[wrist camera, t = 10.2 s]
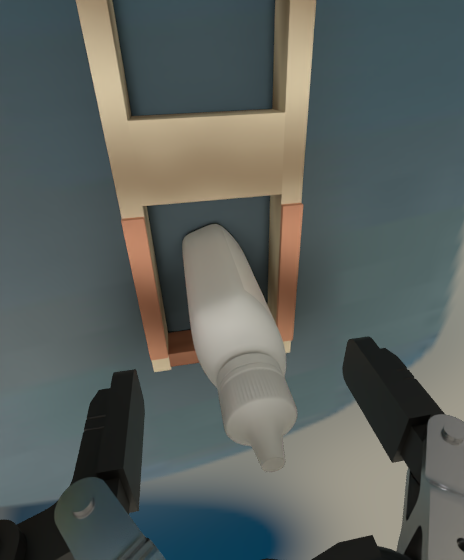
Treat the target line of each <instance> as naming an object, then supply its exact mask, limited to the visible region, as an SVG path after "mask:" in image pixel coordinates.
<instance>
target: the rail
mask: <svg viewBox="0 0 464 560" xmlns="http://www.w3.org/2000/svg"><path fill="white" fill-rule="evenodd" d="M76 4H77V8H78V13H79V18H80V22H81V27H82V32H83V37H84V41H85V46H86V51H87V56H88V60H89V65H90V70H91V75H92V79H93V84H94V89H95V94H96V98H97V103H98V108H99V113H100V117H101V122H102V127H103V132H104V136H105V141H106V146H107V151H108V155H109V160H110V165H111V169H112V174H113V179H114V184H115V188H116V193H117V198H118V203H119V207H120V212H121V217H122V220H121V223H122V227H123V232H124V237H125V241H126V246H127V251H128V256H129V260H130V265H131V270H132V274H133V279H134V284H135V288H136V293H137V298H138V303H139V307H140V312H141V317H142V321H143V326H144V331H145V335H146V340H147V345H148V349H149V354H150V359H151V360H152V364H153V369H154V372H159V371H166V370H171V367H172V366H179V365H186V364H193V363H200V362H199V360H198V357H197V354H196V351H195V348H194V344H193V338H192V333H191V330H186V331H178V332H171V333H168V330H167V324H166V318H165V312H164V306H163V300H162V294H161V288H160V282H159V276H158V270H157V264H156V258H155V252H154V246H153V240H152V234H151V228H150V222H149V216H148V210H147V206H150V205H162V204H174V203H185V202H197V201H209V200H221V199H232V198H244V197H256V196H267V195H270V226H269V265H268V303H267V305H268V307H269V310H270V312H271V314H272V316H273V319H274V321H275V323H276V325H277V327H278V330H279V332H280V335H281V337H282V340H283V344H284V348H285V353H288V352H290V346H291V340H293V330H294V318H295V305H296V292H297V279H298V266H299V253H300V240H301V228H302V215H303V204H302V203H301V198H302V184H303V171H304V157H305V144H306V131H307V117H308V104H309V90H310V77H311V63H312V50H313V36H314V23H315V9H316V0H275V31H274V70H273V109H261V110H242V111H222V112H203V113H184V114H164V115H145V116H132V115H131V109H130V103H129V97H128V91H127V85H126V79H125V73H124V67H123V61H122V55H121V49H120V44H119V38H118V32H117V26H116V20H115V14H114V8H113V2H112V0H76Z"/></svg>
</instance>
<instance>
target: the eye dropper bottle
mask: <svg viewBox="0 0 464 560" xmlns="http://www.w3.org/2000/svg"><path fill="white" fill-rule="evenodd" d="M182 251H183V262H184V272H185V281H186V290H187V300H188V309H189V317H190V325H191V333H192V338H193V344H194V348H195V351H196V354H197V357H198V360H199V362H200V364H201V367H202V368H203V370H204V372H205V374H206V375H207V377H208V378H209V379H210V381H211V382H212V383H213V384H214V385H215V386H216V387H217V389H218V395H219V401H220V407H221V413H222V418H223V424H224V429H225V432H226V434H227V436H229V438H230V439H231V440H233V441H235V442H237V443H239V444H242V445H247V446H252V448H253V450H254V452H255V454H256V456H257V459H258V461H259V463H260V465H261V467H262V469H263V470H264V471H266V472H274V471H277V470H279V469H281V468H282V467H283V466H284V465H285V454H284V446H283V436H284V435H285V434H286V433H288V432H289V431H290V429H291V428H292V427H293V425H294V423H295V422H296V418H297V408H296V405H295V403H294V400H293V398H292V395H291V393H290V390H289V388H288V385H287V383H286V380H285V378H284V376H285V371H286V353H285V348H284V344H283V340H282V337H281V335H280V332H279V330H278V327H277V325H276V323H275V321H274V319H273V316H272V314H271V312H270V310H269V307H268V305H267V303H266V301H265V299H264V296H263V294H262V292H261V290H260V288H259V285H258V283H257V281H256V279H255V277H254V274H253V272H252V270H251V268H250V266H249V263H248V261H247V259H246V257H245V255H244V253H243V251H242V249H241V247H240V246H239V244H238V243H237V242H236V240H235V239H234V238H233V237H232V235H231V234H230V233H229V232H228V231H227V230H226V229H224V228H223V227H222V226H220V225H218V224H211V225H208V226H205V227H203V228H201V229H198V230H196V231H194V232H191V233H189V234H188V235H186V236H185V237H184V239H183V242H182Z"/></svg>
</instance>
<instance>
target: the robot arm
mask: <svg viewBox="0 0 464 560" xmlns="http://www.w3.org/2000/svg"><path fill="white" fill-rule="evenodd" d="M343 377H344V380H345V382H346V384H347V386H348V388H349V389H350V391H351V393H352V395H353V396H354V398H355V400H356V401H357V403H358V405H359V407H360V408H361V410H362V412H363V413H364V415H365V417H366V419H367V420H368V422H369V424H370V425H371V427H372V429H373V431H374V432H375V434H376V436H377V437H378V439H379V441H380V443H381V444H382V446H383V448H384V450H385V451H386V453H387V455H388V456H389V458H390V460H391V461H392V462H399V461H403V460H404V461H405V463H406V464H407V466H408V470H407V475H406V486H405V498H404V509H403V520H402V528H401V533H400V537H399V541H398V545H397V551H394V550H391V549H388V548H384V547H379V546H377V544H376V542H375V540H374V538H373V535H371V536H366V537H361V538H357V539H353V540H348V541H343V542H339V543H337V544H336V545H334V546H332V547H331V548H329V549H328V550H326V551H325V552H323V553H321V554H320V555H318V556H317V557H315V558H313V559H312V560H464V422H463V421H462V420H460V419H458V418H456V417H453V416H450V415H446V414H444V412H443V411H442V410H441V409H440V408H439V406H438V405H437V404H436V403H435V401H434V400H433V399H432V398H431V397H430V395H429V394H428V393H427V392H426V390H425V389H424V388H423V387H422V386H421V384H420V383H419V382H418V381H417V380H416V379H414V376H413V375H412V373H411V372H410V371H409V370H407V367H406V366H405V365H404V364H403V362H402V361H401V360H400V359H399V358H398V357H397V356H396V355H395V354H393V353H392V352H390V351H389V350H387V349H386V348H382V349H380V348H379V347H378V346H377V344H376V343H375V342H374V341H373V339H372V338H371V337H361V338H354V339H349V340H348V342H347V347H346V352H345V357H344V362H343ZM144 416H145V409H144V399H143V395H142V391H141V387H140V383H139V379H138V375H137V371H136V370H135V369H134V370H127V371H120V372H114V373H113V376H112V382H111V388H109V389H102V390H99V391H98V392H97V394H96V395H95V397H94V398H93V400H92V401H91V403H90V406H89V410H88V415H87V420H86V423H85V428H84V432H83V436H82V441H81V445H80V450H79V454H78V458H77V463H76V467H75V471H74V476H73V479H72V482H71V484H70V486H69V487H68V488H67V489H66V490H65V491H64V493H63V494H62V495H61V497H60V498H59V500H58V501H57V502H56V503H55V504H54V505H52V506H51V507H50V508H48V509H46V510H45V511H43V512H41V513H39V514H37V515H35V516H33V517H31V518H29V519H27V520H25V521H23V522H21V523H19V524H17V525H16V524H15V523H14V522H12V521H10V520H0V560H165V558H164V557H163V556H162V554H161V553H160V551H159V550H158V549H157V547H156V546H155V545H154V544H153V542H152V541H151V540H150V539H149V538H146V537H145V536H144V535H143V534H142V532H141V531H140V530H139V528H138V527H137V525H136V524H135V523H134V521H133V520H132V519H131V517H130V516H129V513H130V512H135V511H139V497H140V481H141V465H142V448H143V432H144ZM262 560H275V559H262Z"/></svg>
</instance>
